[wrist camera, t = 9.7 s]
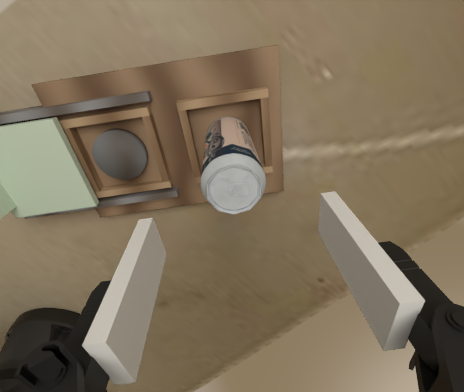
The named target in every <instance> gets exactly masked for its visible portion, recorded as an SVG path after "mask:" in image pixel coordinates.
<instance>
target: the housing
mask: <svg viewBox="0 0 464 392" xmlns="http://www.w3.org/2000/svg"><path fill="white" fill-rule="evenodd" d="M32 87H33V89H34V91H35V92H36V94H37V96H38V98H39V100H40V102H41V104H42V106H38V107H31V108H25V109H19V110H12V111H6V112H0V124H5V123H12V122H18V121H25V120H31V119H37V118H44V117H48V118H54V117H57V119H58V121H59V123H60V125H61V127H62V129H63V131H64V133H65V135H66V137H67V139H68V141H69V143H70V145H71V147H72V149H73V151H74V153H75V155H76V157H77V159H78V161H79V163H80V165H81V167H82V169H83V171H84V173H85V175H86V177H87V179H88V181H89V183H90V185H91V187H92V189H93V191H94V193H95V195H96V197H97V199H98V201H99V204H98V205H97V206H94V207H88V208H81V209H74V210H67V211H60V212H53V213H47V214H40V215H33V216H26V217H24V218H25V219H27V218H34V217H41V216H47V215H54V214H61V213H68V212H75V211H82V210H89V209H95V208H96V210H97V212H98V214H99V216H100V217H107V216H114V215H120V214H127V213H134V212H141V211H148V210H155V209H162V208H169V207H176V206H183V205H189V204H196V203H203V202H208V201H207V200H206V199H205V197H204V195H203V193H202V190H201V175H202V167H203V158H204V150H205V142H206V133H207V131H208V128H209V127H210V125H211V124H212V123H213V122H214V121H216V120H217V119H219V118H222V117H234V118H237V119H239V120H240V121H242V122H243V123H244V124H245V126H246V127H247V129H248V131H249V134H250V136H251V139H252V141H253V144H254V147H255V149H256V152H257V155H258V157H259V160H260V162H261V165H262V168H263V170H264V173H265V177H266V186H265V190H264V193H263V194H265V193H272V192H279V191H284V187H283V156H282V125H281V93H280V62H279V45H274V46H267V47H261V48H255V49H249V50H243V51H236V52H230V53H224V54H218V55H211V56H205V57H199V58H193V59H186V60H180V61H174V62H168V63H161V64H155V65H149V66H143V67H137V68H130V69H124V70H118V71H112V72H105V73H99V74H93V75H87V76H80V77H74V78H68V79H62V80H55V81H49V82H43V83H38V84H32Z"/></svg>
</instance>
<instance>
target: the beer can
mask: <svg viewBox="0 0 464 392" xmlns="http://www.w3.org/2000/svg"><path fill="white" fill-rule="evenodd" d="M265 186H266V177H265V173H264V170H263V168H262V165H261V162H260V160H259V157H258V155H257V152H256V149H255V147H254V144H253V141H252V139H251V136H250V134H249V131H248V129H247V127H246V126H245V124H244V123H243V122H242V121H240V120H239V119H237V118H234V117H222V118H219V119H217V120H216V121H214V122H213V123H212V124H211V125H210V127H209V128H208V131H207V133H206V142H205V150H204V158H203V167H202V175H201V190H202V193H203V195H204V197H205V199H206V200H207V201H208V202H209V203H210V204H211V205H212V206H214V207H215V208H216V209H217V210H218V211H221V212H225V213H230V214H234V215H235V214H238V213H241V212H244V211H248V210H250V209H251V208H252V207H253V206H254V205H255V204H256V203H257V202H258V200H259V199H260V198H261V197H262V195H263V193H264V190H265Z"/></svg>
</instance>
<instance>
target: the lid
mask: <svg viewBox="0 0 464 392" xmlns="http://www.w3.org/2000/svg"><path fill="white" fill-rule="evenodd" d="M98 204H99V201H98V199H97V197H96V195H95V193H94V191H93V189H92V187H91V185H90V183H89V181H88V179H87V177H86V175H85V173H84V171H83V169H82V167H81V165H80V163H79V161H78V159H77V157H76V155H75V153H74V151H73V149H72V147H71V145H70V143H69V141H68V139H67V137H66V135H65V133H64V131H63V129H62V127H61V125H60V123H59V121H58V119H57V117H54V118H47V119H41V120H35V121H28V122H22V123H15V124H9V125H3V126H0V219H1V218H3V217H4V216H5V215H6V214H8V213H9V212H10V211H11V212H12V213H13V214H14V216H15V217H16V218H19V217H26V216H33V215H40V214H47V213H53V212H60V211H67V210H74V209H81V208H88V207H94V206H97V205H98Z"/></svg>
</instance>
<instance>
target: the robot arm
mask: <svg viewBox="0 0 464 392" xmlns="http://www.w3.org/2000/svg"><path fill="white" fill-rule="evenodd" d="M318 233H319V235H320V237H321V239H322V240H323V242H324V244H325V246H326V248H327V250H328V251H329V253H330V255H331V257H332V259H333V260H334V262H335V264H336V266H337V268H338V270H339V271H340V273H341V275H342V277H343V279H344V280H345V282H346V284H347V286H348V288H349V290H350V291H351V293H352V295H353V297H354V298H355V300H356V302H357V304H358V306H359V307H360V310H361V311H362V313H363V315H364V317H365V318H366V320H367V322H368V324H369V326H370V328H371V329H372V331H373V333H374V335H375V337H376V338H377V340H378V342H379V344H380V346H381V348H382V349H383V351H387V350H395V349H402V348H405V346H406V344H407V342H408V339H409V341H410V342H411V343H412V345H413V346H414V348H415V352H414V354H413V356H412V359H411V361H410V363H409V369H411V370H413V368H414V366H415V367H416V373H417V380H418V387H419V392H464V307H463V306H460V305H457V304H454V303H453V302H452V301H450V300H449V299H448V298H447V296H445V294H444V293H443V292H442V291H441V290H440V289H439V288H438V287H437V286H436V285H435V283H434V282H433V281H432V280H431V279H430V278H429V277H428V276H427V275H426V274H425V273H424V272H423V271H422V269H419V266H418V265H417V264H416V263H415V262H414V261H412V259H411V258H410V256H409V255H408V254H407V253H406V252H405V251H404V250H403V249H402V248H400V247H399V246H397V245H395V244H394V243H392V242H390V241H388V242H380V243H377V242H376V240H375V239H374V238H373V237H372V235H371V234H370V233H369V232H368V231H367V229H366V228H365V227H364V226H363V225H362V223H361V222H360V221H359V220H358V219H357V217H356V216H355V215H354V214H353V213H352V211H351V210H350V209H349V208H348V206H347V205H346V204H345V203H344V202H343V200H342V199H341V198H340V197H339V196H338V194H337V193H336V192H335V191H334V192H327V193H321V198H320V214H319V231H318ZM166 255H167V254H166V251H165V248H164V246H163V243H162V240H161V238H160V235H159V232H158V230H157V227H156V225H155V222H154V219H153V218H147V219H140V220H139V221H138V223H137V225H136V228H135V230H134V232H133V234H132V236H131V239H130V241H129V243H128V245H127V248H126V250H125V252H124V254H123V256H122V259H121V261H120V263H119V265H118V267H117V270H116V272H115V274H114V276H113V278H112V280H111V281H103V282H101V283H100V284H99V285H98V286H97V287H96V288H95V289H94V290H93V292H92V293H91V295H90V297H89V299H88V301H87V303H86V306H85V307H84V309H83V310H82V312H81V315H79V314H76V313H74V312H70V311H66V310H61V309H52V308H44V309H35V310H31V311H28V312H25V313H23V314H22V315H20V316H19V317H18V318H17V319H16V321H15V322H14V323H13V325H12V326H11V327H10V329H9V330H8V332H7V335H6V338H5V341H6V342H5V344H4V346H3V348H2V350H1V353H0V392H107V390H106V387H107V384H108V381H109V378H110V379H111V380H112V382H113V383H114V384H115V385H119V384H127V383H135V382H136V378H137V374H138V370H139V366H140V362H141V358H142V354H143V350H144V346H145V341H146V337H147V333H148V329H149V325H150V321H151V317H152V313H153V309H154V305H155V300H156V296H157V292H158V288H159V284H160V280H161V276H162V272H163V268H164V263H165V259H166Z"/></svg>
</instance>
